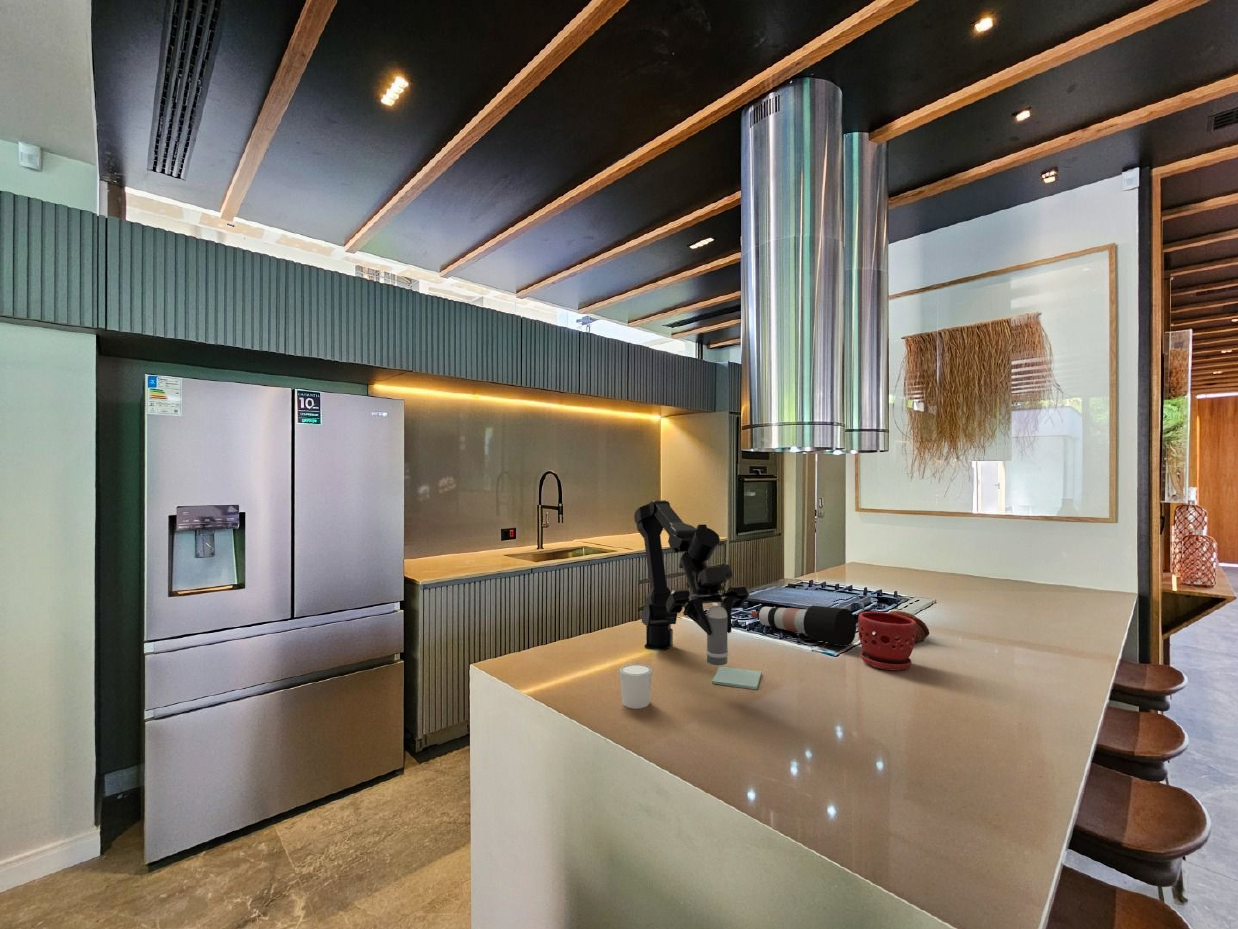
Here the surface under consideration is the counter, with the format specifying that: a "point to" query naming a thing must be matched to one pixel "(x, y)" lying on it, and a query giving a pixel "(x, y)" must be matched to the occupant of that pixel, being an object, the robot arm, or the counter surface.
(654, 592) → the robot arm
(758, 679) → the coaster
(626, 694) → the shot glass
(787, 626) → the striped bottle
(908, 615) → the pastry
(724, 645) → the cylinder
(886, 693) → the counter surface
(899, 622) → the plant pot
